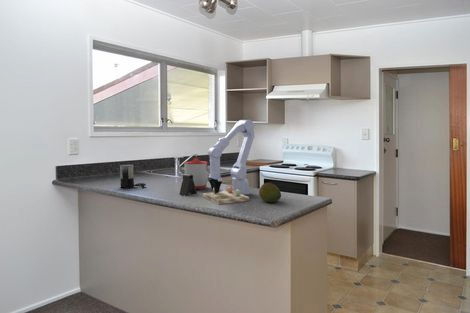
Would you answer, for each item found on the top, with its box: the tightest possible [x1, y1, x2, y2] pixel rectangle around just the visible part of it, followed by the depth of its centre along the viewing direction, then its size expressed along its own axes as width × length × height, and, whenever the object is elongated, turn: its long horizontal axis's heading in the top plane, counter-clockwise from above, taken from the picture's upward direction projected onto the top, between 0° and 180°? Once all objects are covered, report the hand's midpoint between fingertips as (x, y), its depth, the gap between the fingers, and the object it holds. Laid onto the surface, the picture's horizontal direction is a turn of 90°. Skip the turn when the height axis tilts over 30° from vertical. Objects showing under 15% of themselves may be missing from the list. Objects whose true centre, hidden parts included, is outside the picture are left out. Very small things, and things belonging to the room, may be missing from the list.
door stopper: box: [178, 173, 198, 197], centre depth 220 cm, size 9×6×12 cm, turn 138°
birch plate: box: [202, 190, 250, 205], centre depth 206 cm, size 18×22×2 cm
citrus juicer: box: [183, 157, 210, 190], centre depth 239 cm, size 16×17×20 cm
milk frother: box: [119, 164, 147, 189], centre depth 246 cm, size 14×16×15 cm
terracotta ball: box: [226, 186, 233, 192], centre depth 213 cm, size 4×4×4 cm
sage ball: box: [235, 189, 241, 196], centre depth 204 cm, size 4×4×4 cm
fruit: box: [258, 182, 282, 203], centre depth 196 cm, size 12×13×10 cm
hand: (215, 192), depth 211 cm, fingers closed on steel ball, 3 cm apart
